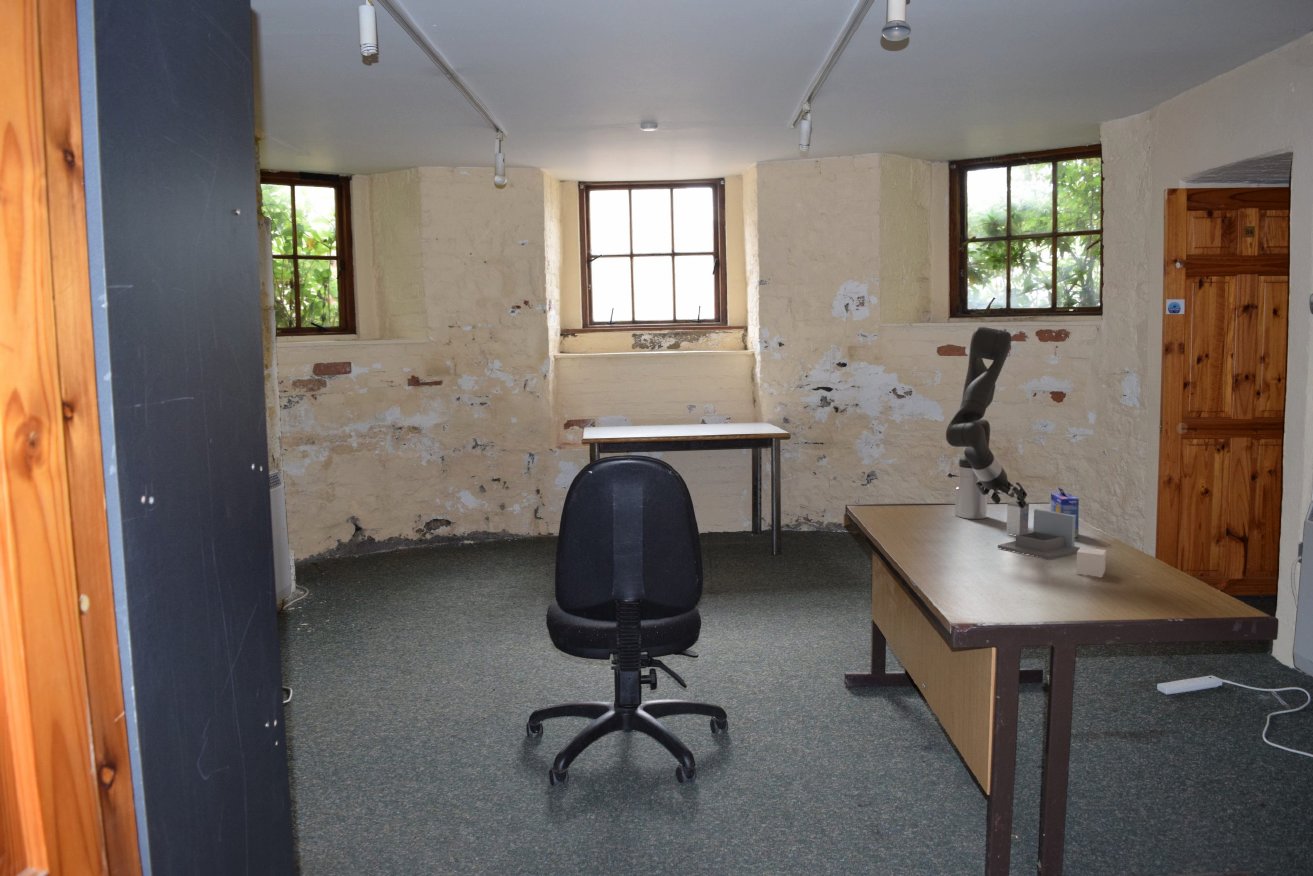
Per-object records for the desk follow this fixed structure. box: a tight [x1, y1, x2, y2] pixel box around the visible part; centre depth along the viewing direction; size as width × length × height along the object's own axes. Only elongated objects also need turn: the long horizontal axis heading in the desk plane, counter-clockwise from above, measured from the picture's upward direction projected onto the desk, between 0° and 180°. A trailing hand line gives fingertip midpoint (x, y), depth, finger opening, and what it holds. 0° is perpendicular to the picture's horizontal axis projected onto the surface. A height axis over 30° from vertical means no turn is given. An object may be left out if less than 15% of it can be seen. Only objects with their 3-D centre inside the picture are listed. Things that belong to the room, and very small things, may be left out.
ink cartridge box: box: [1050, 487, 1080, 538], centre depth 268 cm, size 10×6×14 cm, turn 174°
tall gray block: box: [1005, 500, 1030, 535], centre depth 268 cm, size 4×4×10 cm
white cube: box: [1075, 546, 1107, 578], centre depth 225 cm, size 6×6×6 cm
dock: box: [997, 508, 1081, 560], centre depth 249 cm, size 16×16×10 cm
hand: (1010, 504), depth 266 cm, fingers open, 8 cm apart
